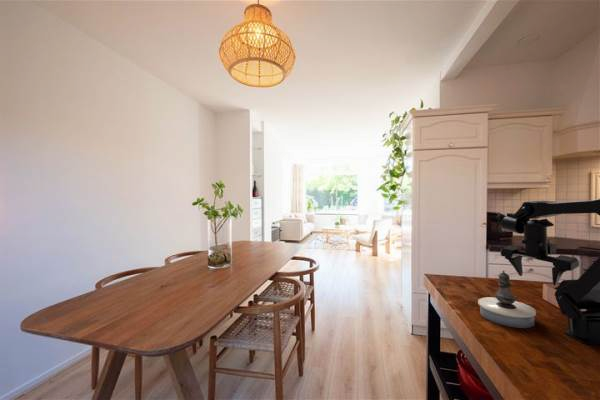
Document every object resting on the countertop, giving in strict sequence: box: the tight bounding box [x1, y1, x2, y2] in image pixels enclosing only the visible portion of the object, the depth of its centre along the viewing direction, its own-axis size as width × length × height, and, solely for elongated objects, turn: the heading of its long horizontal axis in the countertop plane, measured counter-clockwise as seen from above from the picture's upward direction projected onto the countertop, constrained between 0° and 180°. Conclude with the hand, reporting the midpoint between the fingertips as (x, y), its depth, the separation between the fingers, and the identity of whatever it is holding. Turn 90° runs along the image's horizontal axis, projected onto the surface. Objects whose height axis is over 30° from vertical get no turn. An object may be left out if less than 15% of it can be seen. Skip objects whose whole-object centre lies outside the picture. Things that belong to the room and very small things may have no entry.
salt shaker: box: [494, 270, 518, 309], centre depth 82 cm, size 6×6×12 cm
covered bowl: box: [477, 296, 537, 329], centre depth 82 cm, size 15×15×4 cm
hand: (537, 280), depth 83 cm, fingers open, 9 cm apart
